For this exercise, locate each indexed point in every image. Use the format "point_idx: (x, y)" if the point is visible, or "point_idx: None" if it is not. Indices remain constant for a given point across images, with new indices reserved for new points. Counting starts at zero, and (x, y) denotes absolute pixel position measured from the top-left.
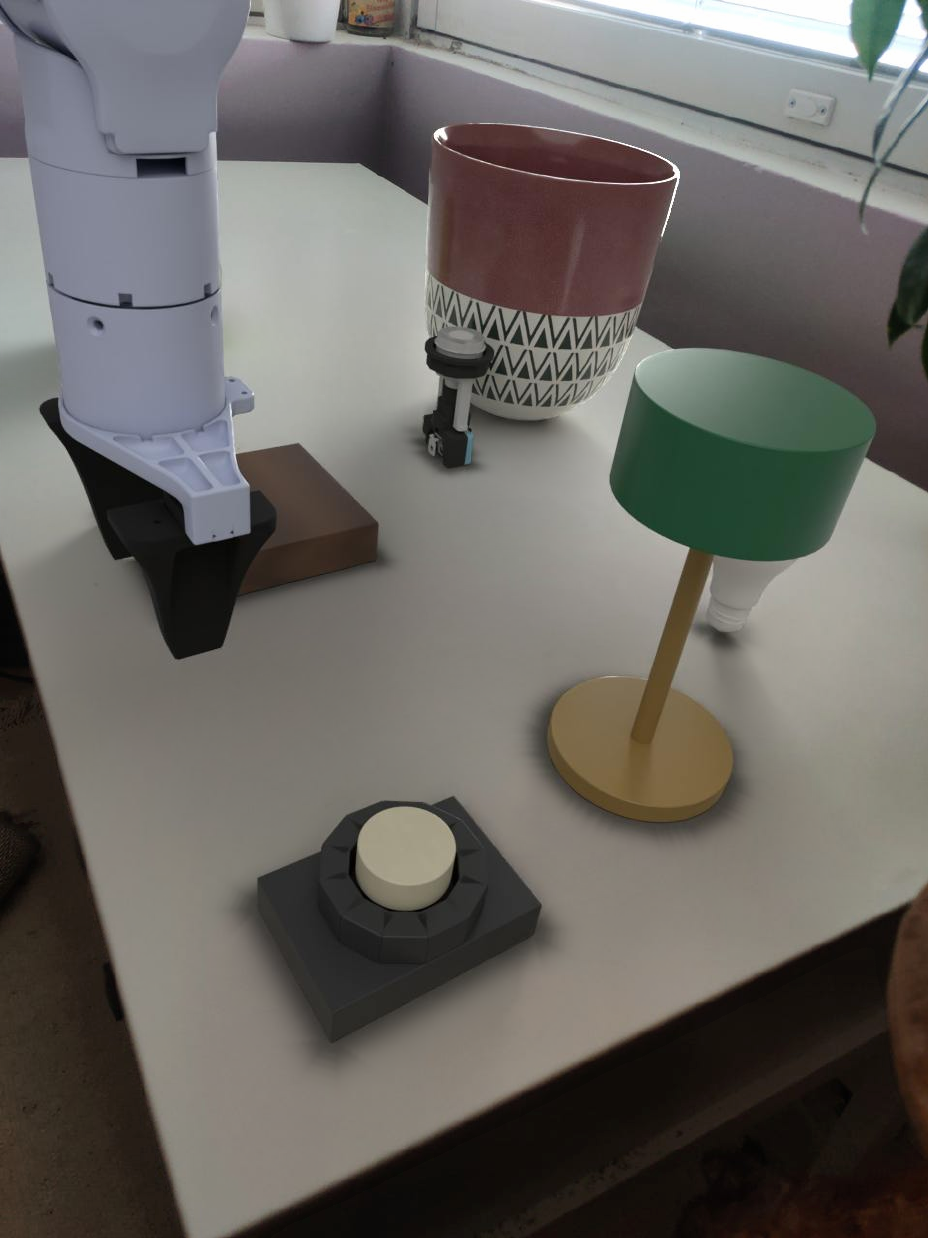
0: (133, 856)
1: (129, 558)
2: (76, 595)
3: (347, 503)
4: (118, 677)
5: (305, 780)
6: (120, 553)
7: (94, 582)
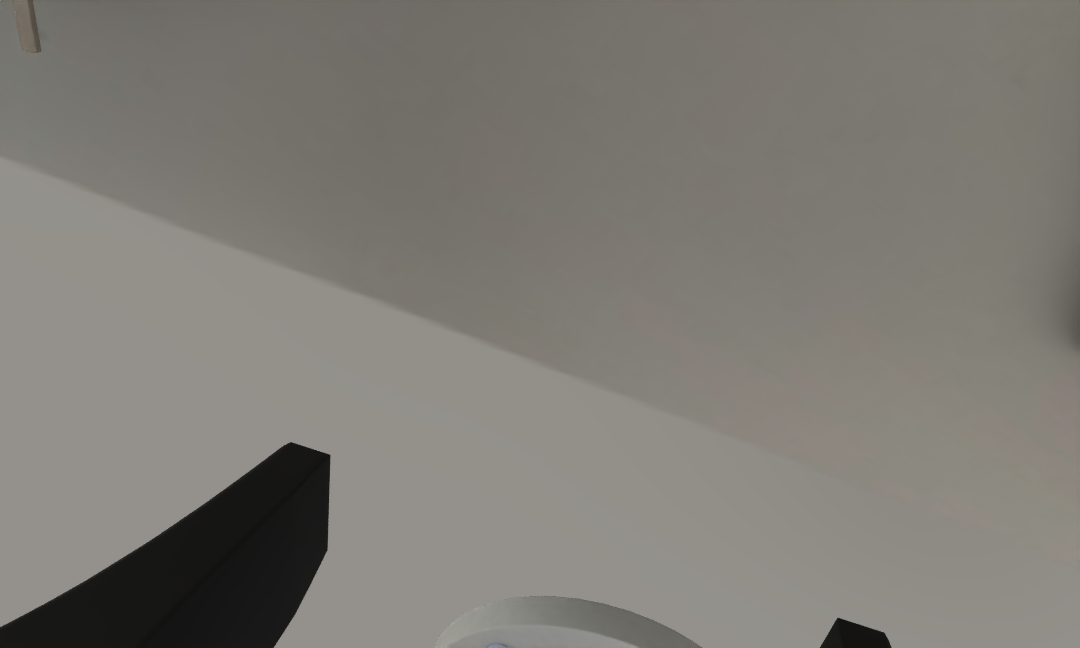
0: (797, 408)
1: (29, 35)
2: (69, 92)
3: None
4: (362, 176)
5: (912, 66)
6: (318, 553)
7: None
